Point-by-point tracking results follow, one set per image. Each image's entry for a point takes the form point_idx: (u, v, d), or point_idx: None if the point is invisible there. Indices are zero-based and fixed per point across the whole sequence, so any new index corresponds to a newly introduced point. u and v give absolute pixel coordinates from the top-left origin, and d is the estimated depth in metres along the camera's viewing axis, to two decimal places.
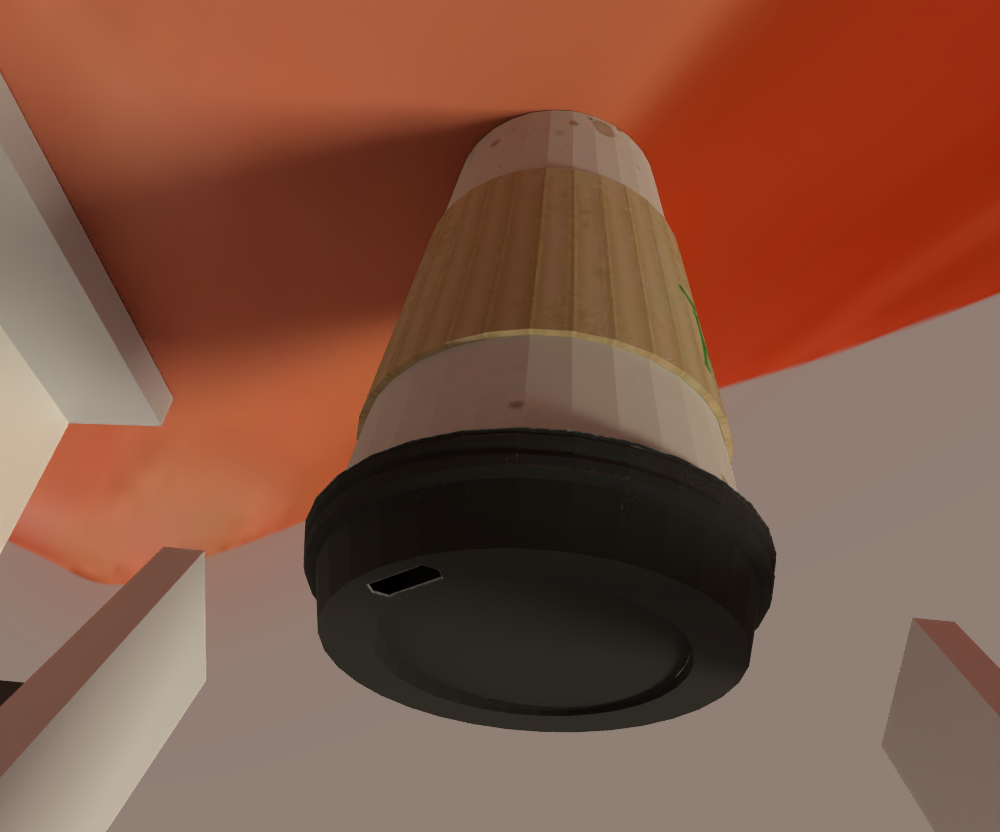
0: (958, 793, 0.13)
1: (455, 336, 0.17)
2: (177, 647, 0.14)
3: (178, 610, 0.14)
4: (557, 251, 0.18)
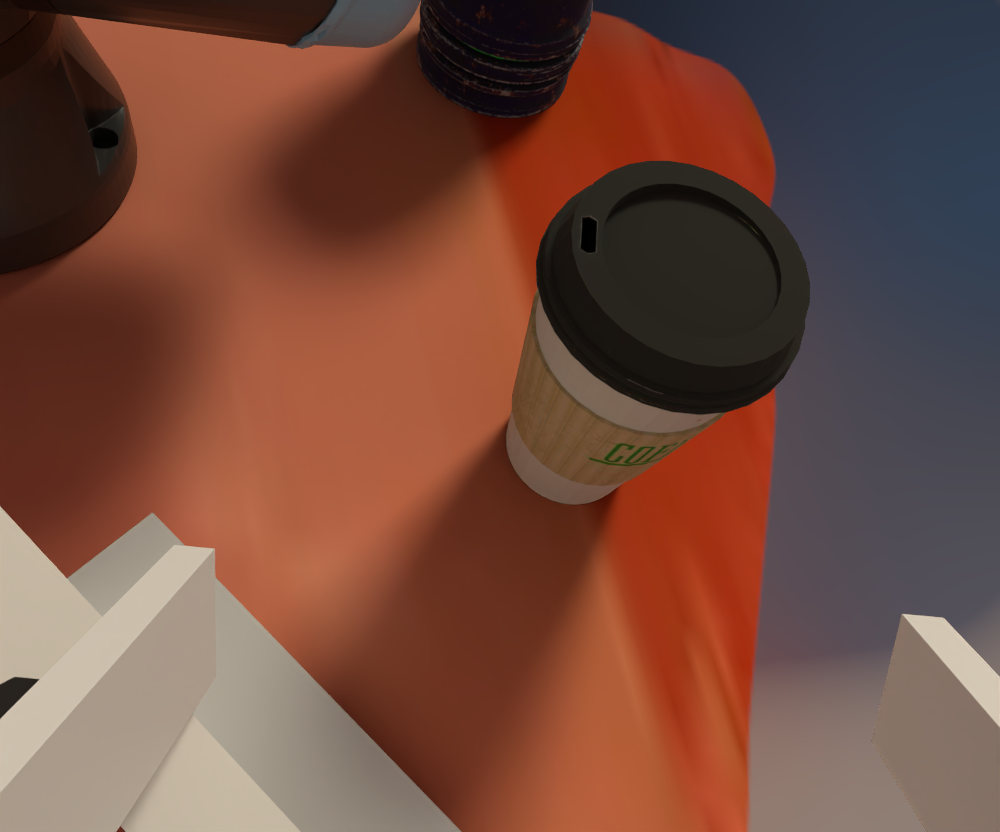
0: (945, 787, 0.13)
1: None
2: (188, 644, 0.14)
3: (189, 607, 0.14)
4: None
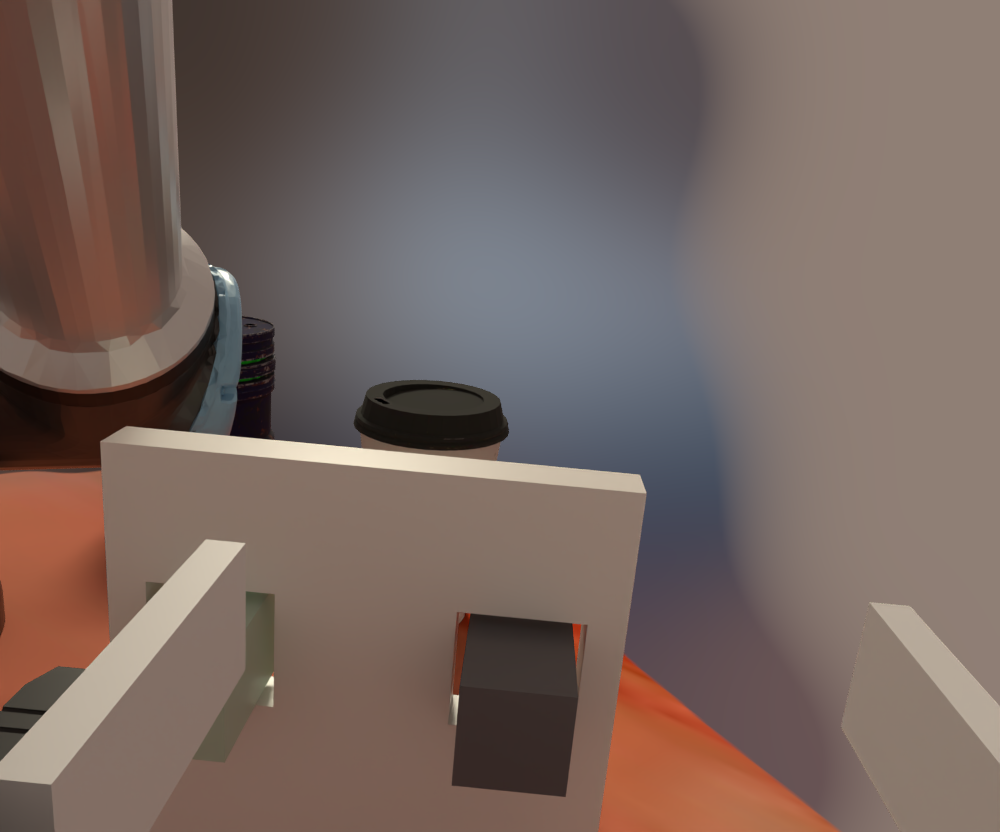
0: (906, 769, 0.13)
1: None
2: (222, 636, 0.15)
3: (223, 600, 0.15)
4: None
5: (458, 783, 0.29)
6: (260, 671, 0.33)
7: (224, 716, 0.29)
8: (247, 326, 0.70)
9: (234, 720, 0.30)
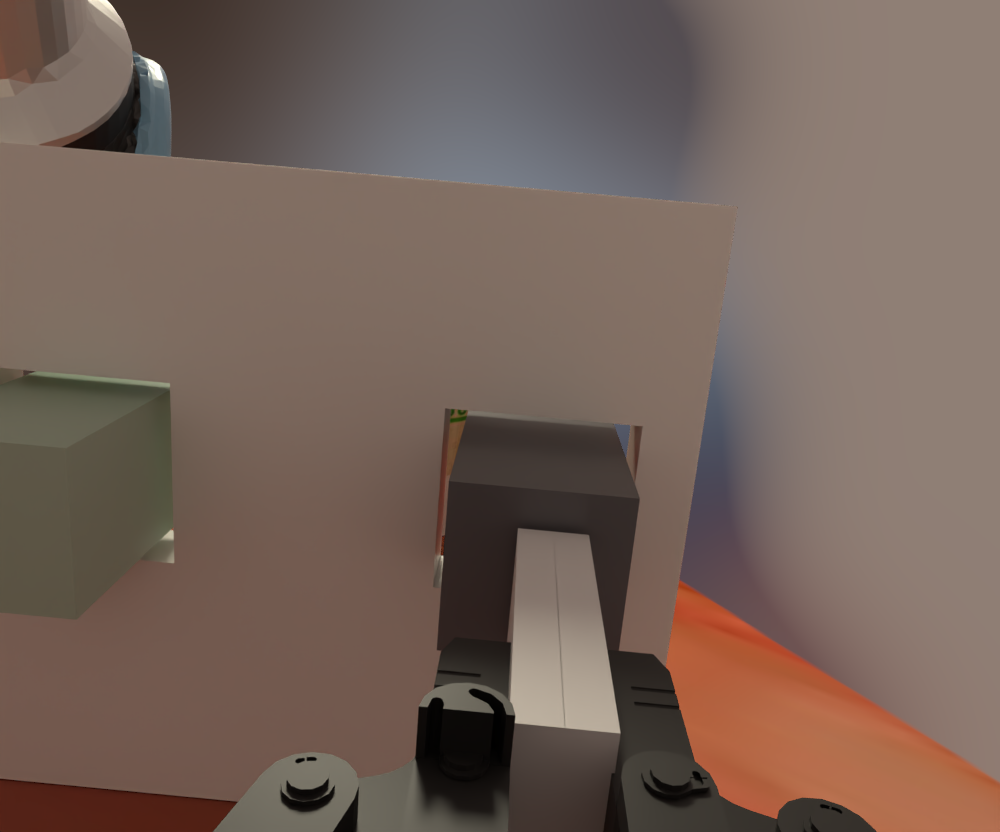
0: None
1: None
2: None
3: None
4: None
5: None
6: (152, 507, 0.22)
7: (72, 541, 0.18)
8: None
9: (96, 559, 0.19)
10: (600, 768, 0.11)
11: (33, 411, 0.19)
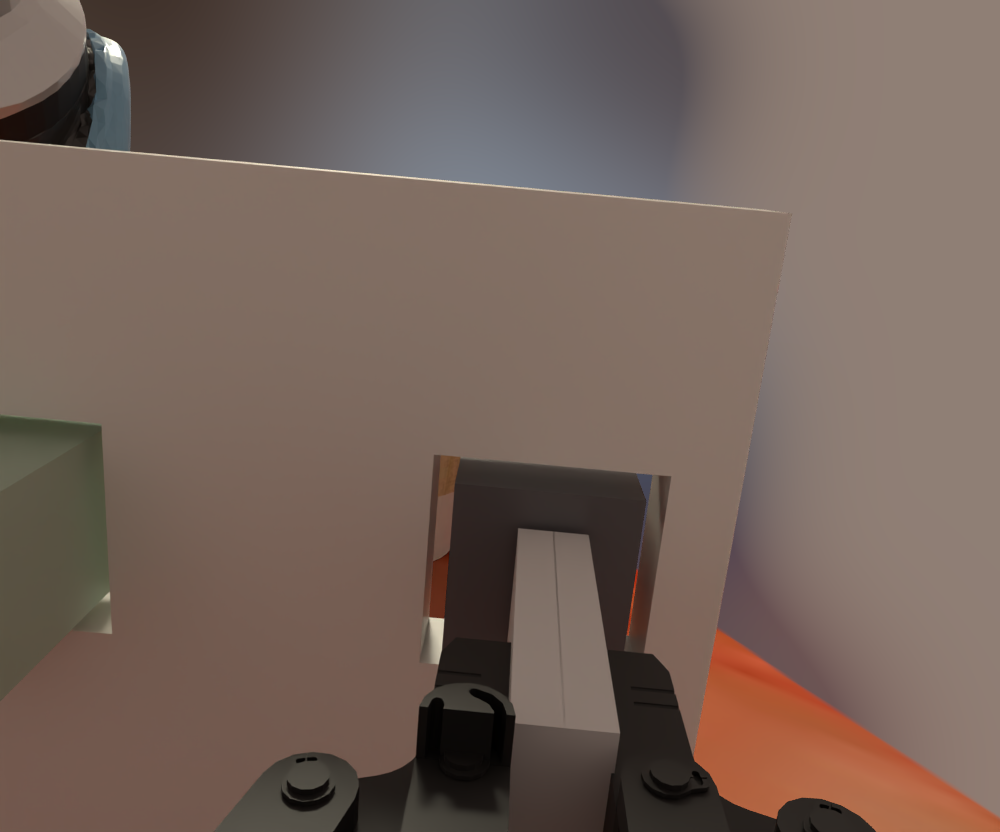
0: None
1: None
2: None
3: None
4: None
5: None
6: (84, 569, 0.18)
7: None
8: None
9: (4, 646, 0.15)
10: (599, 768, 0.11)
11: None
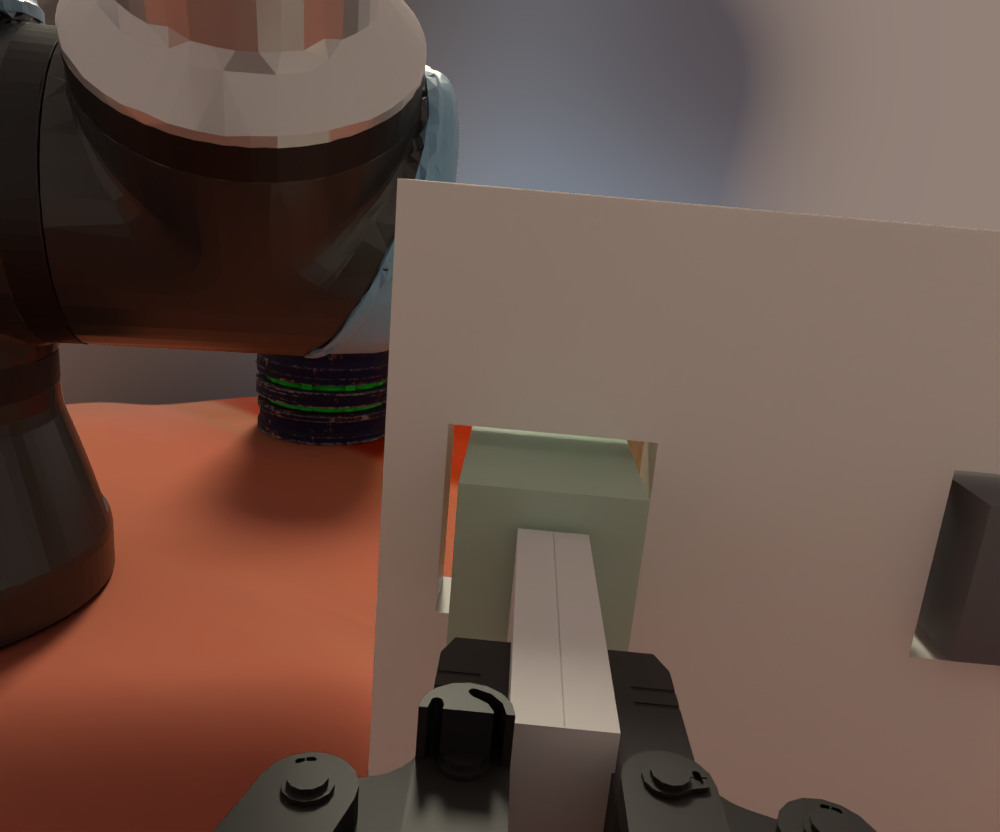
0: None
1: None
2: None
3: None
4: None
5: (961, 657, 0.20)
6: None
7: (636, 592, 0.18)
8: None
9: None
10: (600, 768, 0.11)
11: (551, 457, 0.19)
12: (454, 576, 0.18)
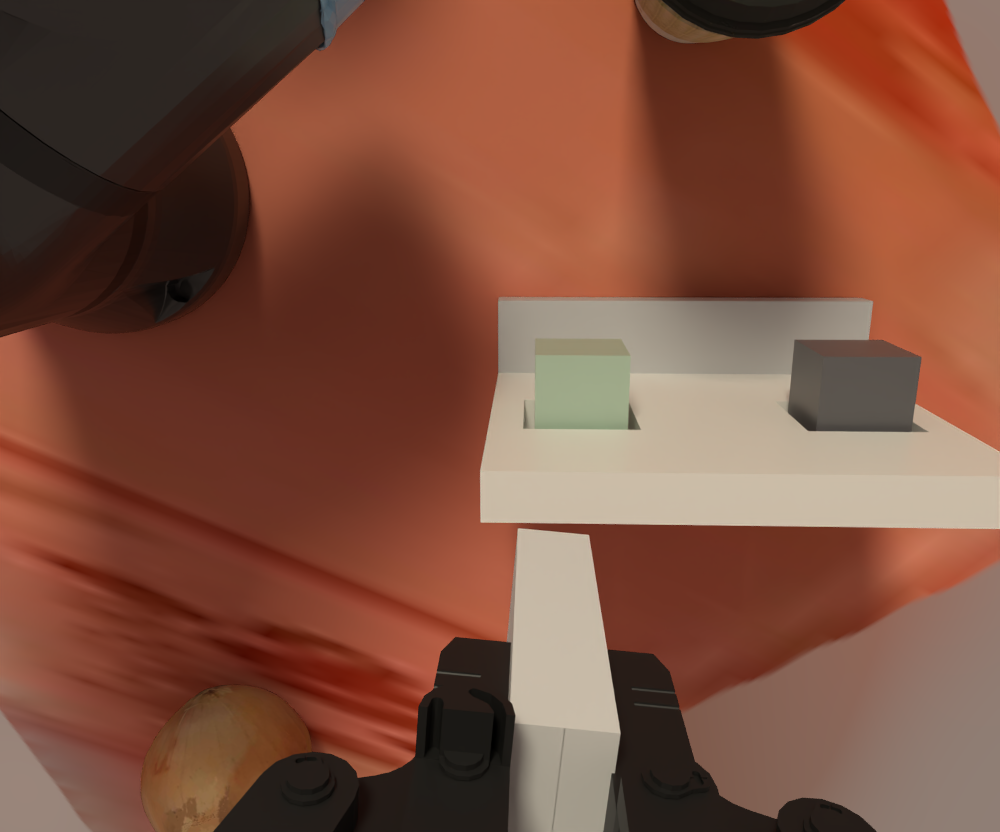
0: None
1: None
2: None
3: None
4: None
5: None
6: None
7: None
8: None
9: None
10: (600, 768, 0.11)
11: None
12: None
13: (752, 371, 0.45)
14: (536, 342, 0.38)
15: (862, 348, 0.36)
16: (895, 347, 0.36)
